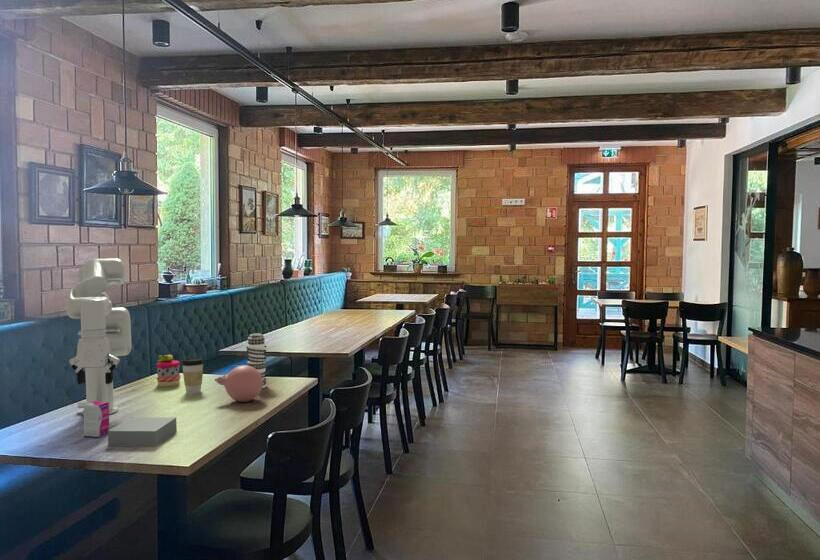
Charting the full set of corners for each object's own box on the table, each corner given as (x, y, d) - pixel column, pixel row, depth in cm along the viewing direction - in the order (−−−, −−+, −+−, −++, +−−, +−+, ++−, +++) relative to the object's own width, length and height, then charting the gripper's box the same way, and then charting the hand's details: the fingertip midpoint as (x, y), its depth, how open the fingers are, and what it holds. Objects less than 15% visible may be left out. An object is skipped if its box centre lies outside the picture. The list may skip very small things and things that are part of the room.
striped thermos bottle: (251, 384, 284) (250, 332, 283) (270, 384, 283) (269, 332, 282) (243, 388, 275) (242, 335, 274) (262, 389, 274) (261, 335, 272)
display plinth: (108, 445, 195) (107, 431, 194) (132, 431, 211) (131, 417, 210) (156, 446, 194) (155, 431, 194) (176, 431, 210) (176, 417, 210)
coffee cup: (209, 391, 270) (208, 358, 269) (191, 395, 262) (190, 362, 261) (195, 388, 275) (194, 356, 275) (177, 393, 267) (176, 360, 266)
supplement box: (98, 438, 203) (97, 405, 202) (83, 437, 204) (82, 404, 203) (110, 433, 208) (109, 401, 208) (95, 432, 209) (94, 400, 209)
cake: (160, 382, 289) (160, 352, 288) (183, 382, 290) (182, 351, 289) (153, 387, 278) (153, 356, 278) (177, 386, 279) (176, 355, 279)
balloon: (221, 396, 260) (221, 362, 259) (267, 396, 259) (266, 362, 259) (209, 406, 244) (208, 369, 244) (257, 406, 244) (256, 369, 243)
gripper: (62, 336, 201) (64, 385, 201) (112, 335, 200) (114, 385, 201) (75, 333, 208) (77, 381, 209) (123, 332, 208) (125, 381, 208)
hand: (95, 383), depth 205 cm, fingers open, 9 cm apart
